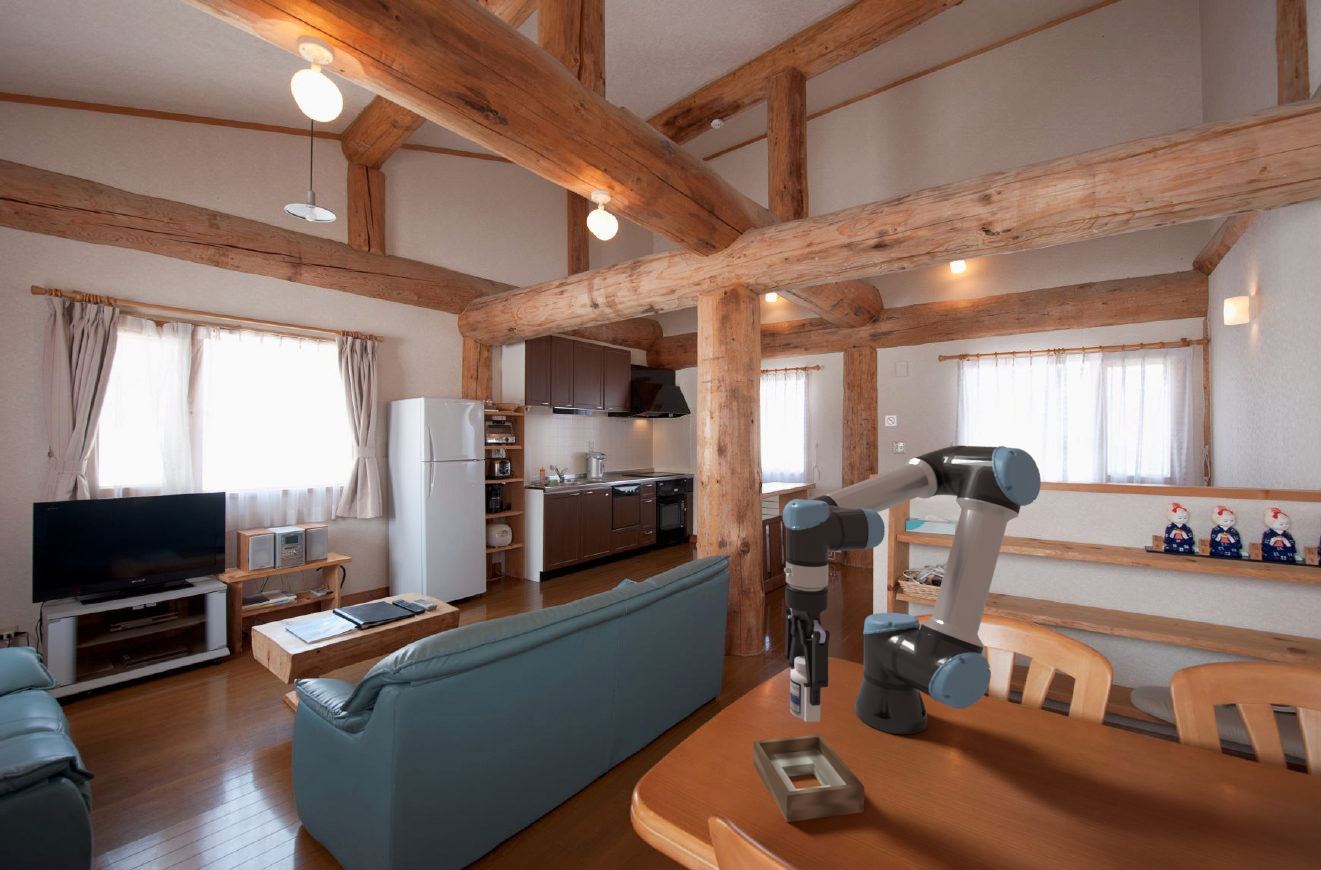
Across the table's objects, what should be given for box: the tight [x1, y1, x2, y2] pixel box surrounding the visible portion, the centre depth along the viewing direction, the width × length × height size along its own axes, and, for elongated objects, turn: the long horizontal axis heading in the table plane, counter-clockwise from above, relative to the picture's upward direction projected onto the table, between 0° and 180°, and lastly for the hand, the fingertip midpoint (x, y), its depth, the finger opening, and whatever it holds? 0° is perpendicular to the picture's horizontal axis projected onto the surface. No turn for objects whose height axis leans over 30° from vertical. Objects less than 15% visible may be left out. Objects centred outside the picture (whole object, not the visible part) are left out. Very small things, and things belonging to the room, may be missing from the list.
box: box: [752, 734, 865, 823], centre depth 100 cm, size 14×16×4 cm
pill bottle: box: [789, 656, 807, 720], centre depth 100 cm, size 5×5×10 cm
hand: (804, 711), depth 100 cm, fingers closed on pill bottle, 5 cm apart
